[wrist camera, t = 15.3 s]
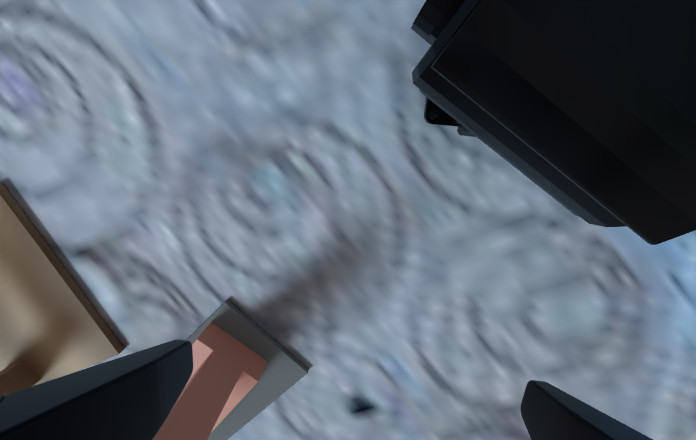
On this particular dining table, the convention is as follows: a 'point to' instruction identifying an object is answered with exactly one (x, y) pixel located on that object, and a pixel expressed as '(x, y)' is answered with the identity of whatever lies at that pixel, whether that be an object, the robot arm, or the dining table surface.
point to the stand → (42, 310)
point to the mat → (274, 377)
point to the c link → (212, 385)
